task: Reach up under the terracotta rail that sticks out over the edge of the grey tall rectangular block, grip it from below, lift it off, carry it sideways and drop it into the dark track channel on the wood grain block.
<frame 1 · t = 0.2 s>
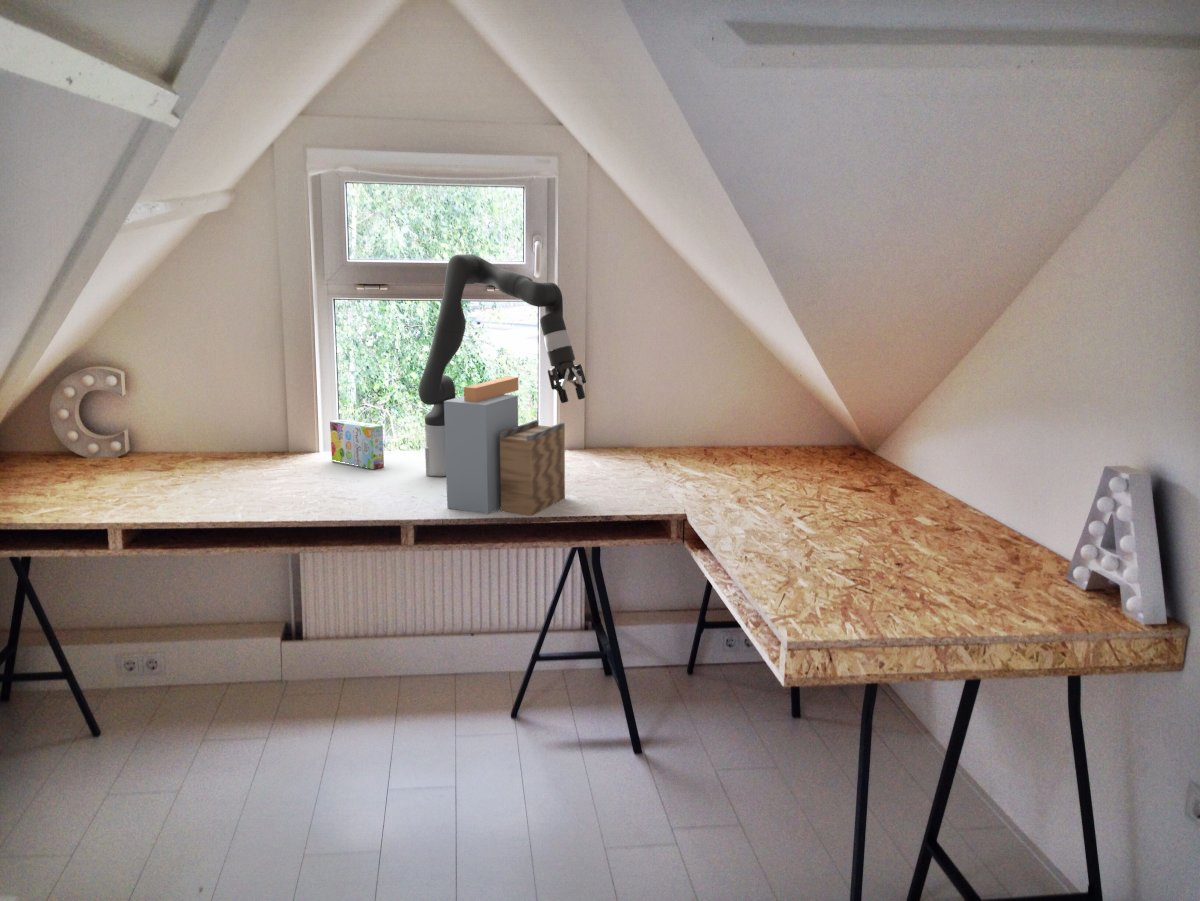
hand: (573, 400, 280), 31 cm above the table, tool tilted 20°, fingers open, 8 cm apart
rail: (492, 395, 281), point 32 cm above the table, touching grey tall rectangular block
snack box: (357, 465, 330), on the table
grey tall rectangular block: (484, 503, 283), on the table
wood grain block: (533, 504, 282), on the table
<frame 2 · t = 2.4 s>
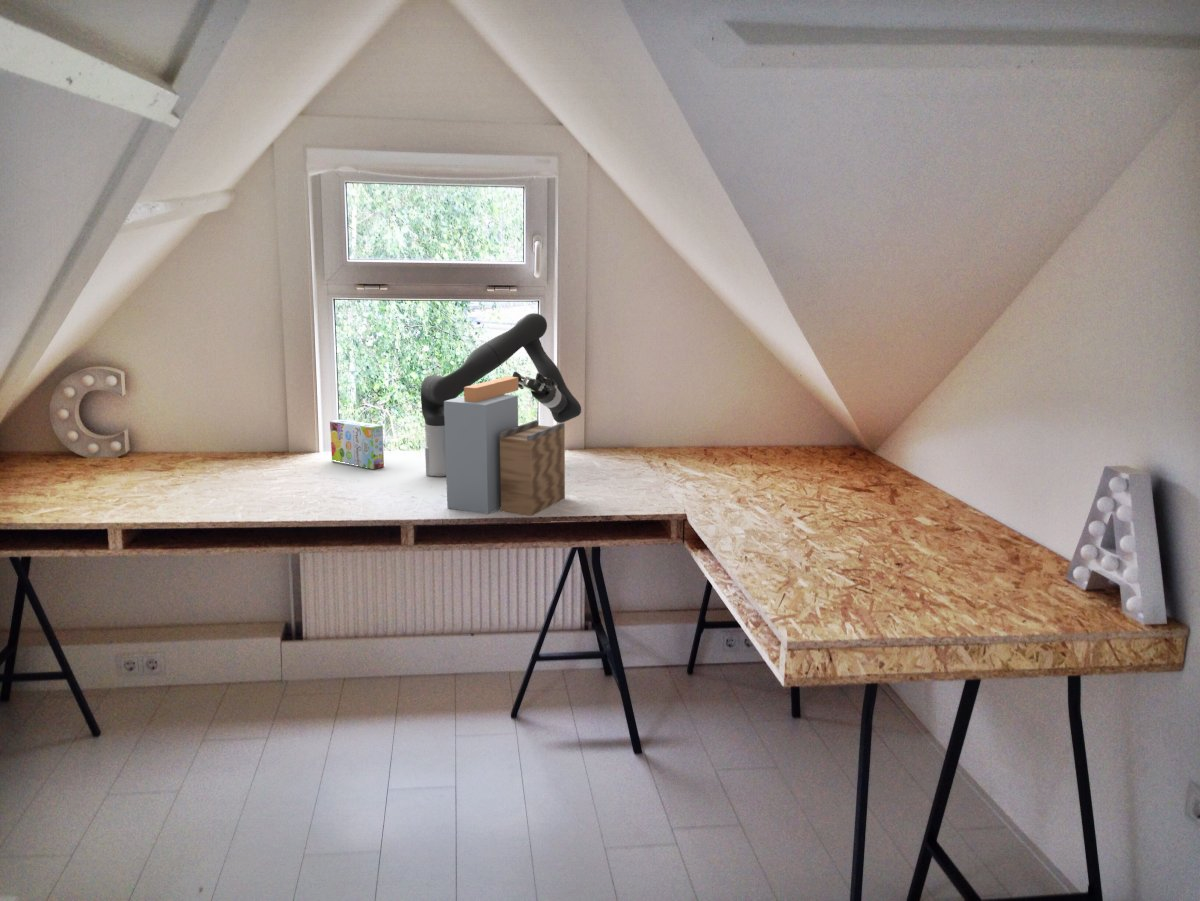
hand: (525, 375, 305), 34 cm above the table, tool pointing upward, fingers open, 8 cm apart
nothing on the table moved.
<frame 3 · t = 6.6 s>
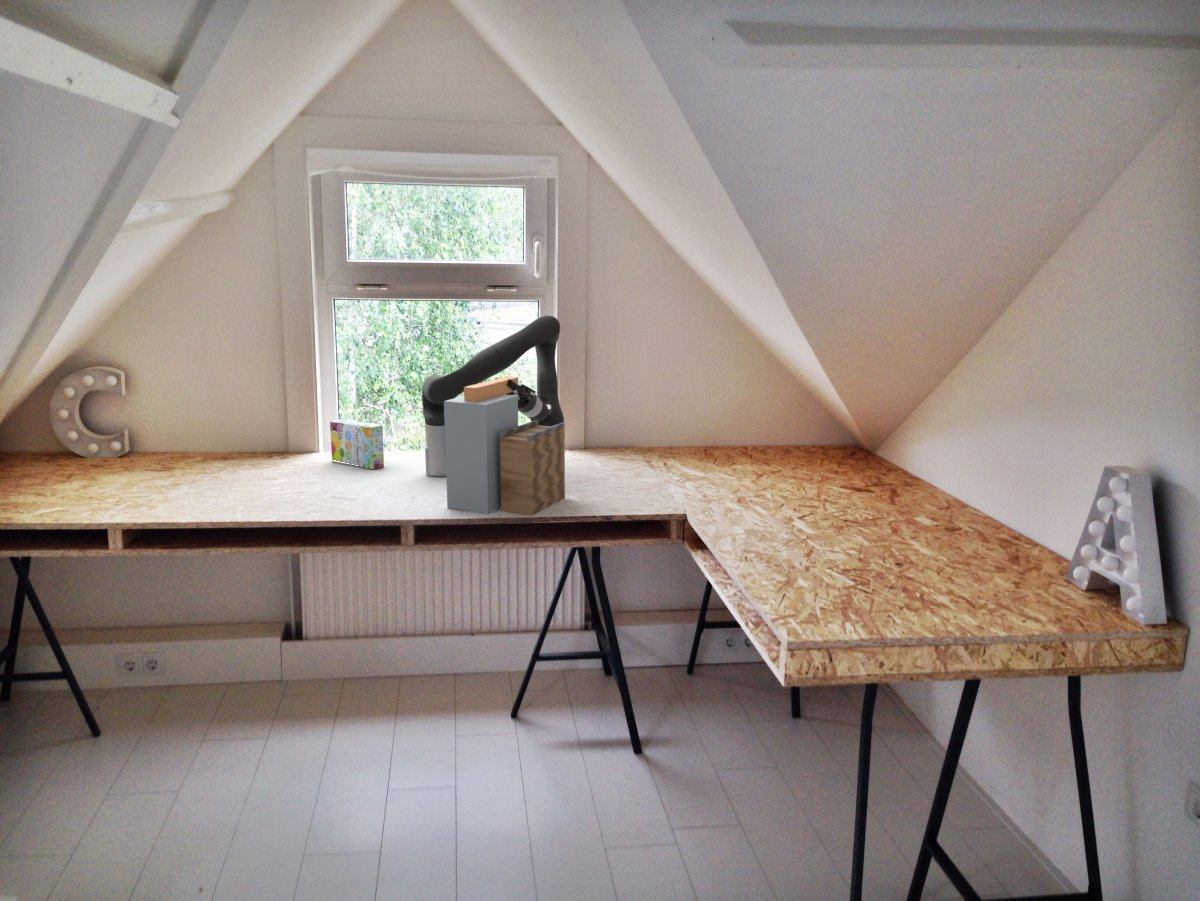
hand: (501, 381, 285), 35 cm above the table, tool pointing upward, fingers closed on rail, 4 cm apart
rail: (492, 395, 281), point 32 cm above the table, touching grey tall rectangular block, gripper
everything else where it was.
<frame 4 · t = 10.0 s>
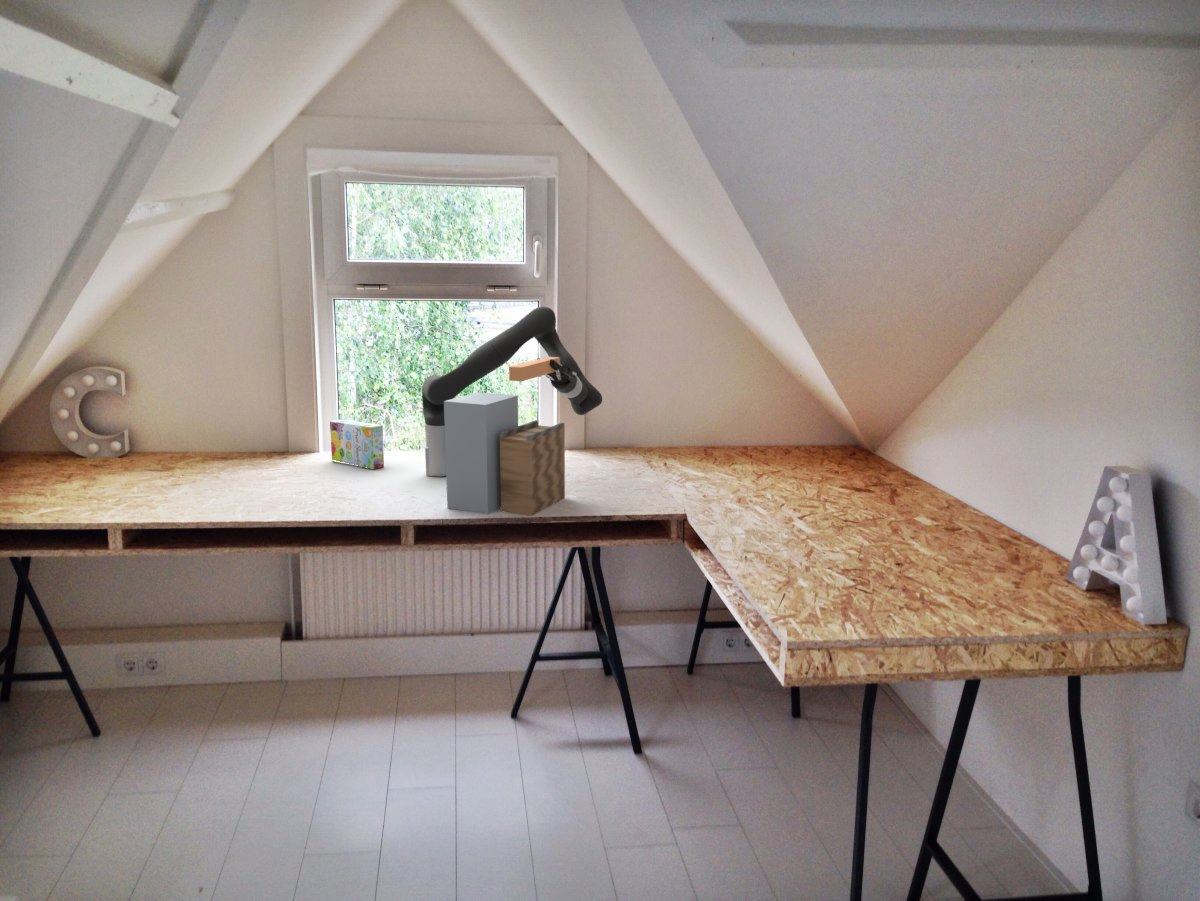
hand: (544, 361, 284), 41 cm above the table, tool pointing upward, fingers closed on rail, 4 cm apart
rail: (535, 375, 280), point 38 cm above the table, touching gripper
everything else where it was.
when the fingers open (28 cm above the table, at t = 13.3 s): rail drops 3 cm, resting on wood grain block.
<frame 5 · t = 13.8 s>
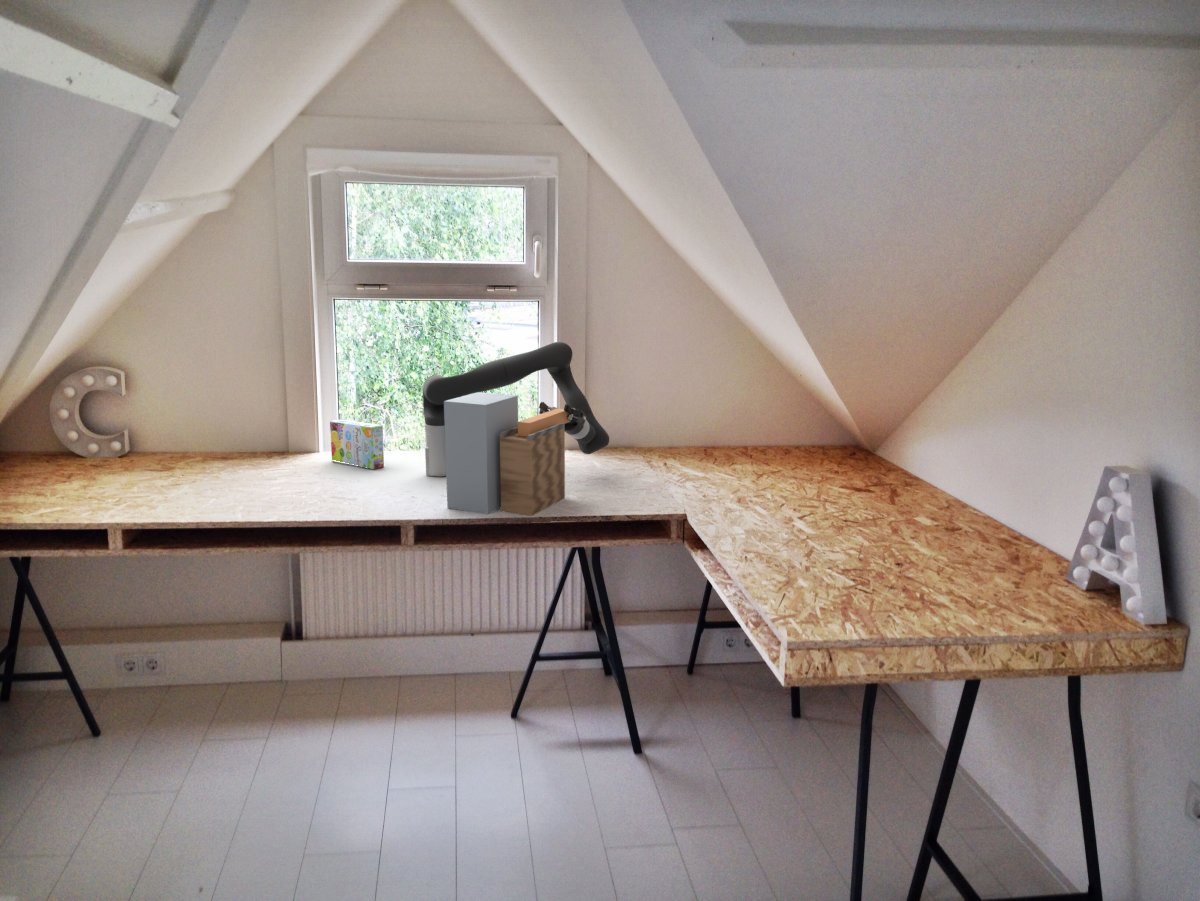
hand: (553, 405, 287), 28 cm above the table, tool pointing upward, fingers open, 8 cm apart
rail: (543, 428, 283), point 22 cm above the table, touching wood grain block
everything else where it was.
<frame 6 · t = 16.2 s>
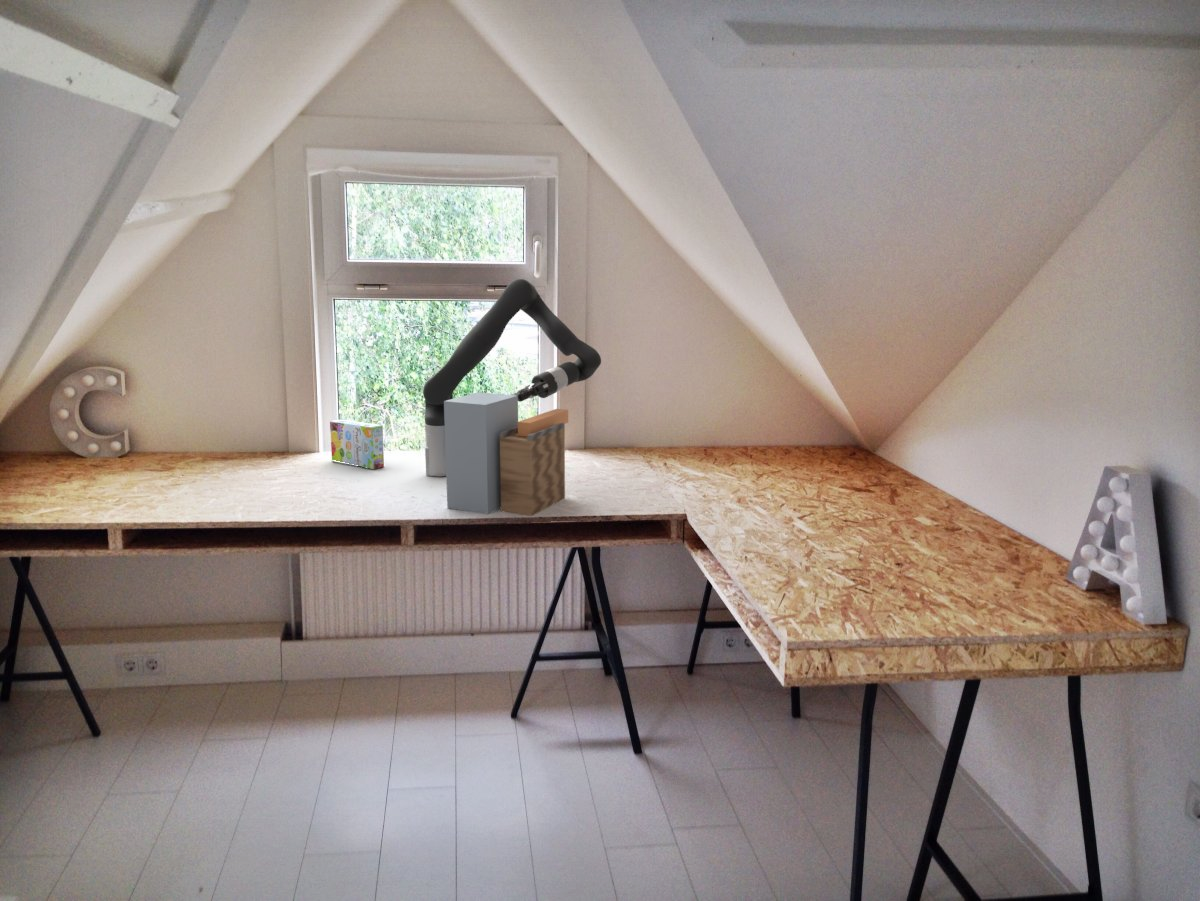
hand: (511, 401, 285), 30 cm above the table, tool tilted 75°, fingers open, 8 cm apart
nothing on the table moved.
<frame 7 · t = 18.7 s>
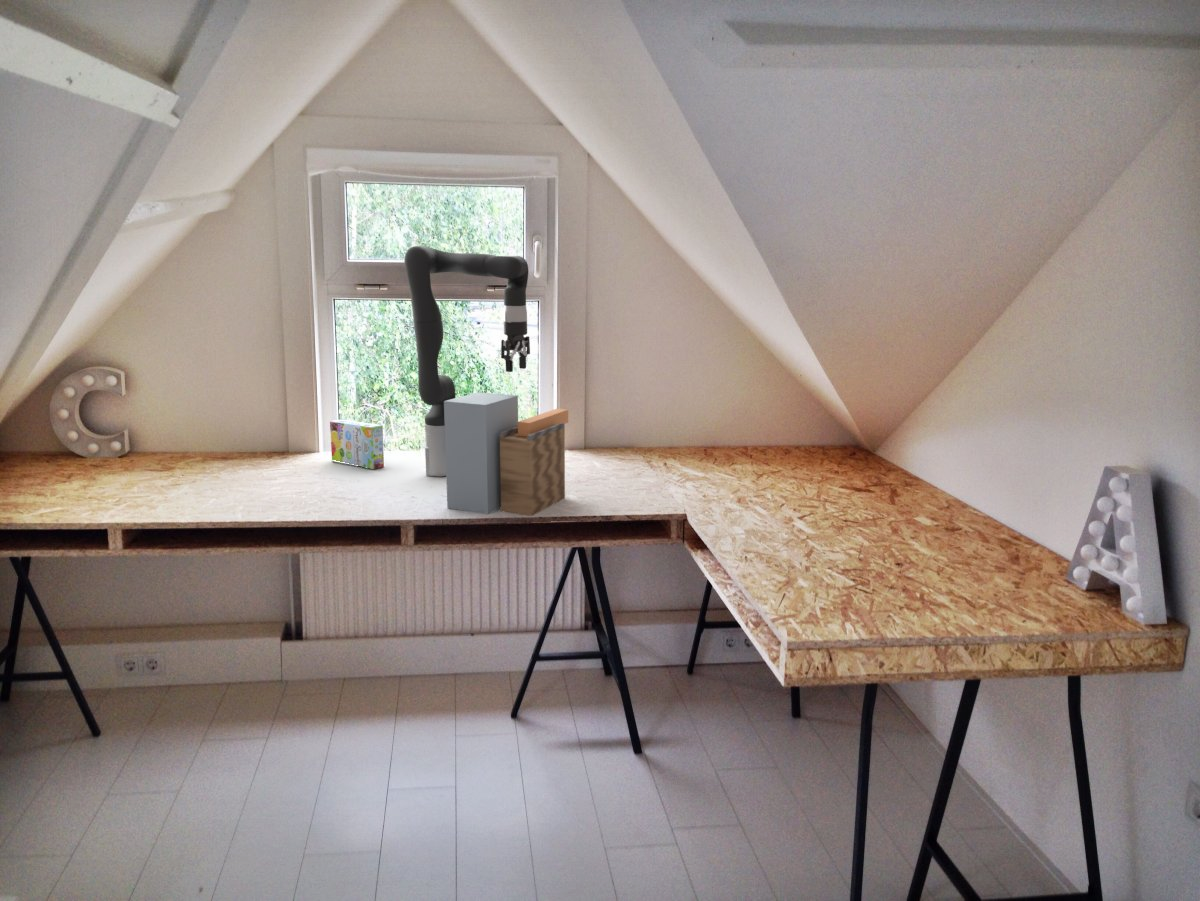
hand: (516, 370, 305), 36 cm above the table, tool pointing down, fingers open, 8 cm apart
nothing on the table moved.
at the end: rail inside the target area on the wood grain block (6.7 cm from its centre), point 22.0 cm above the wood grain block's base; rail touching wood grain block; the gripper is holding nothing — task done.
